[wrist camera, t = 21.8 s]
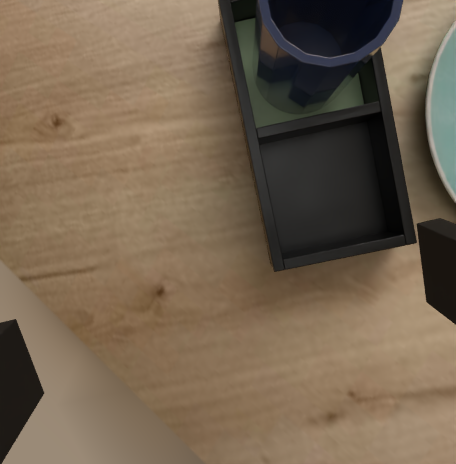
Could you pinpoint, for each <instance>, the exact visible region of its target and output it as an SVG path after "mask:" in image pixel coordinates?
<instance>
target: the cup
mask: <svg viewBox="0 0 456 464" xmlns="http://www.w3.org/2000/svg"><path fill="white" fill-rule="evenodd" d="M402 4H403V0H257V3H256V17H255V32H254V46H253V60H252V68H253V75H254V80H255V83H256V86H257V88H258V90H259V92H260V94H261V95H262V96H263V98H264V99H265V100H266V101H267V102H268V103H269V104H270V105H272V106H273V107H275V108H276V109H278V110H280V111H283V112H286V113H290V114H308V113H312V112H315V111H318V110H320V109H322V108H323V107H325V106H326V105H328V104H329V103H330V102H331V101H333V100H334V99H335V98H336V97H337V96H338V95H339V94H340V93H341V91H342V90H343V89H344V88H345V87H346V86H347V85H348V84H349V82H350V81H351V80H352V79H353V78H354V77H355V76H356V74H357V73H358V72H359V71H360V70H361V69H362V68H363V66H364V65H365V64H366V63H367V62H368V61H369V60H370V58H371V57H372V56H373V55H374V54H375V53H376V52H377V50H378V49H379V48H380V47H381V46H382V45H383V44H384V42H385V41H386V39H387V38H388V36H389V35H390V33H391V31H392V30H393V28H394V27H395V25H396V24H397V22H398V21H399V18H400V13H401V9H402Z"/></svg>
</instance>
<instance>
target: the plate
mask: <svg viewBox="0 0 456 464" xmlns="http://www.w3.org/2000/svg"><path fill="white" fill-rule="evenodd" d="M425 121H426V131H427V138H428V143H429V147H430V152H431V155H432V158H433V161H434V164H435V167H436V170H437V172H438V175H439V177H440V179H441V181H442V183H443V185H444V187H445V189H446V190H447V192H448V193H449V195H450V196H451V198H452V199H453V201H454V202H455V203H456V20H455V21H454V23H453V24H452V26H451V27H450V29H449V30H448V32H447V33H446V35H445V37H444V39H443V41H442V42H441V44H440V47H439V49H438V51H437V53H436V56H435V59H434V61H433V64H432V67H431V71H430V74H429V79H428V83H427V90H426V100H425Z"/></svg>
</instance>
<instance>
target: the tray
mask: <svg viewBox="0 0 456 464" xmlns="http://www.w3.org/2000/svg"><path fill="white" fill-rule="evenodd" d="M256 3H257V0H218V4H219V13H220V20H221V25H222V30H223V35H224V40H225V45H226V49H227V54H228V59H229V64H230V69H231V74H232V79H233V83H234V88H235V93H236V98H237V103H238V108H239V113H240V117H241V122H242V127H243V132H244V137H245V142H246V147H247V151H248V156H249V161H250V166H251V171H252V176H253V181H254V186H255V190H256V195H257V200H258V205H259V210H260V215H261V220H262V224H263V229H264V234H265V239H266V244H267V249H268V254H269V258H270V263H271V266H272V268H273V270H274V272H276V271H281V270H286V269H291V268H296V267H301V266H306V265H311V264H316V263H321V262H326V261H331V260H336V259H341V258H346V257H351V256H356V255H360V254H365V253H370V252H375V251H380V250H385V249H390V248H395V247H400V246H405V245H410V244H414V243H417V241H416V236H415V230H414V225H413V219H412V214H411V209H410V203H409V198H408V192H407V187H406V182H405V176H404V171H403V165H402V160H401V155H400V149H399V144H398V138H397V133H396V128H395V122H394V117H393V111H392V106H391V101H390V95H389V90H388V84H387V79H386V74H385V68H384V63H383V57H382V52H381V47H380V48H379V49H378V50H377V52H376V53H375V54H374V55H373V56H372V57H371V58H370V60H369V61H368V62H367V63H366V64H365V65H364V66H363V68H362V69H361V70H360V71H359V72H358V73H357V74H356V76H355V77H354V78H353V79H352V80H351V81H350V82H349V84H348V85H347V86H346V87H345V88H344V89H343V90H342V91H341V93H340V94H339V95H338V96H337V97H336V98H335V99H334V100H333V101H331V102H330V103H329V104H328V105H326V106H325V107H323V108H322V109H320V110H318V111H315V112H312V113H308V114H290V113H286V112H283V111H280V110H278V109H276V108H275V107H273V106H272V105H270V104H269V103H268V102H267V101H266V100H265V99H264V98H263V96H262V95H261V94H260V92H259V90H258V88H257V86H256V83H255V80H254V75H253V68H252V60H253V46H254V32H255V17H256Z"/></svg>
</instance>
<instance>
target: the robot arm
mask: <svg viewBox="0 0 456 464" xmlns="http://www.w3.org/2000/svg"><path fill="white" fill-rule="evenodd" d="M417 231H418V239H419V246H420V254H421V262H422V270H423V278H424V286H425V294H426V302H427V303H428V304H430V305H431V306H432V307H434V308H435V309H436V310H437V311H439V312H440V313H441V314H443V315H444V316H445V317H447V318H448V319H449V320H450V321H452V322H453V323H454V324H456V224H454V223H452V222H449V221H446V220H444V219H441V218H439V219H434V220H430V221H426V222H422V223H418V224H417ZM43 394H44V391H43V389H42V386H41V383H40V381H39V378H38V375H37V373H36V370H35V368H34V365H33V362H32V360H31V357H30V354H29V352H28V349H27V347H26V344H25V341H24V339H23V336H22V334H21V331H20V328H19V326H18V323H17V320H16V319H14V320H10V321H6V322H2V323H0V464H2V462H3V460H4V459H5V457H6V455H7V454H8V452H9V450H10V449H11V447H12V445H13V443H14V442H15V441H16V439H17V437H18V435H19V434H20V432H21V431H22V429H23V427H24V425H25V424H26V422H27V421H28V419H29V417H30V416H31V414H32V412H33V411H34V409H35V408H36V406H37V404H38V403H39V401H40V399H41V398H42V396H43Z"/></svg>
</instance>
